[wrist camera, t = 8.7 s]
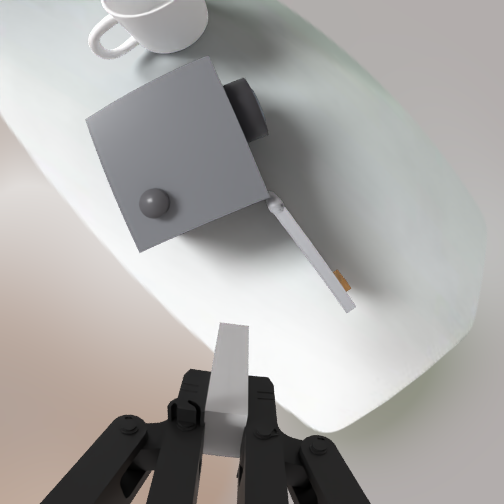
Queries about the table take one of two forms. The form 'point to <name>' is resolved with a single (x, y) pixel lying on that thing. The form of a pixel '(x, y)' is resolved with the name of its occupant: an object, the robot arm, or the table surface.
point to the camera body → (180, 151)
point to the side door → (311, 252)
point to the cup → (151, 25)
